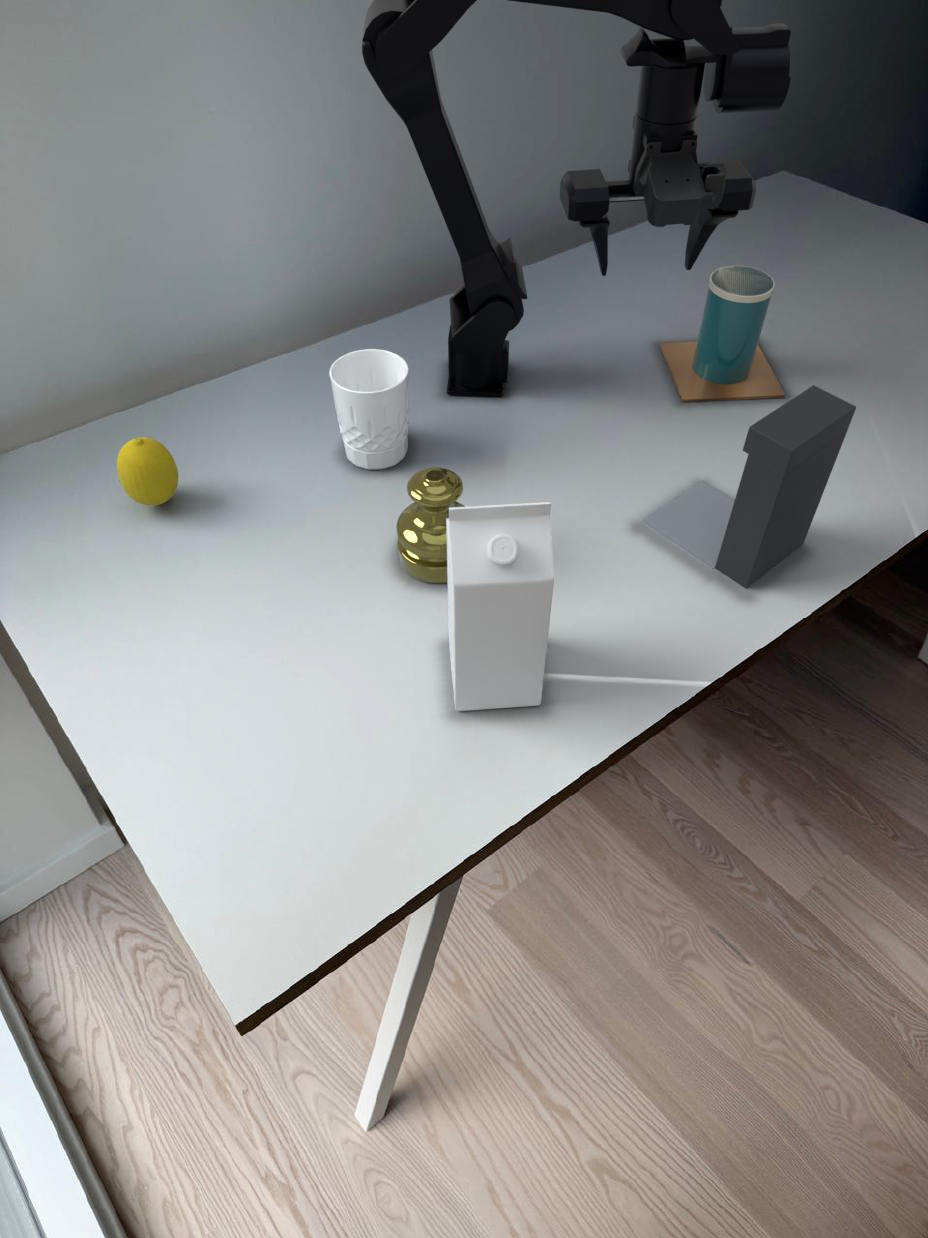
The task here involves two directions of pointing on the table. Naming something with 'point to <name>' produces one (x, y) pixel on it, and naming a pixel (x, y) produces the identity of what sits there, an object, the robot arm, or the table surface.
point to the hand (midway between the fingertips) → (645, 271)
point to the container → (732, 323)
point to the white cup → (372, 406)
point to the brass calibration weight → (428, 523)
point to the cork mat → (699, 389)
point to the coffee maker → (763, 491)
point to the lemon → (147, 471)
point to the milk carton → (499, 603)
